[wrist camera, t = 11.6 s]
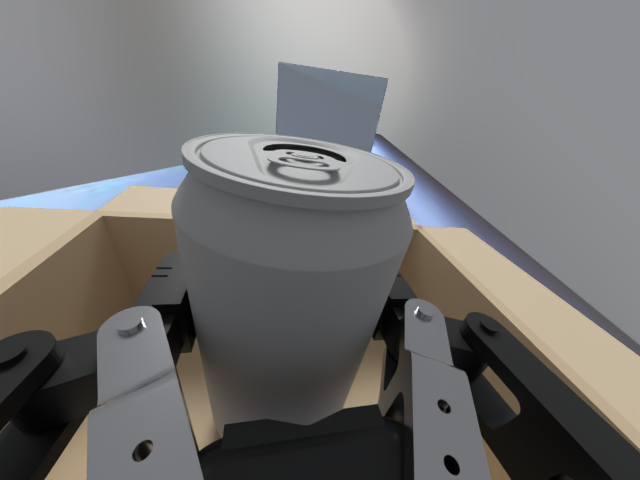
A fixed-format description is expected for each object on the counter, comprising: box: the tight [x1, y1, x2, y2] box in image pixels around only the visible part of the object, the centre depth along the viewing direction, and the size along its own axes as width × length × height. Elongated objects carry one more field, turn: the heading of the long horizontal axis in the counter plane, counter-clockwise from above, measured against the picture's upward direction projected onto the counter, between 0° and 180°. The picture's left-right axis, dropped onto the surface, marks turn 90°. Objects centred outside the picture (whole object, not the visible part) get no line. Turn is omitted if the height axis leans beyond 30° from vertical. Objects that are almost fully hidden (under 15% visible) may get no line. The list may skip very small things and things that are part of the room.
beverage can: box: [171, 133, 415, 438], centre depth 9 cm, size 6×6×12 cm
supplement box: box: [276, 62, 388, 152], centre depth 45 cm, size 17×13×18 cm
